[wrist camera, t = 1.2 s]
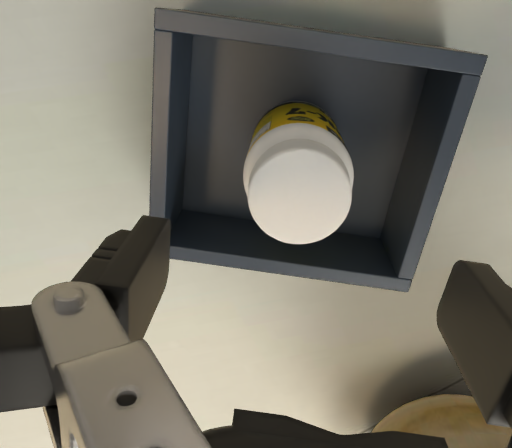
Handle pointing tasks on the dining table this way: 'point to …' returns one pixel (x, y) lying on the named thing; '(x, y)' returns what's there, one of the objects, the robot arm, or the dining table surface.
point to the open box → (342, 113)
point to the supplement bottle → (298, 174)
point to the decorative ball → (446, 422)
